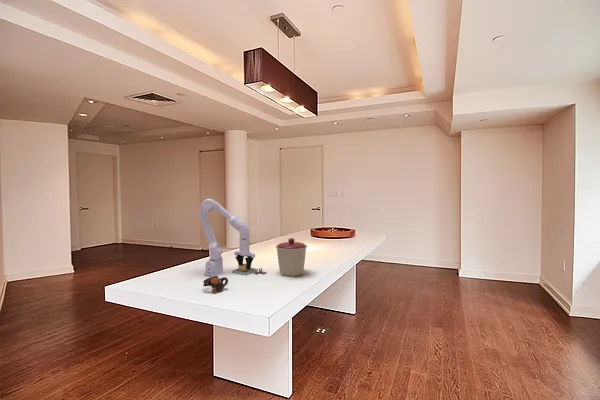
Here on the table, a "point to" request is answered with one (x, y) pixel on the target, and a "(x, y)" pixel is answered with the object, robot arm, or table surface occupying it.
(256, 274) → the steel stake
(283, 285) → the table surface
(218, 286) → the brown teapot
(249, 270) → the slate tray
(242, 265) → the brass ring
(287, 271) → the canister
